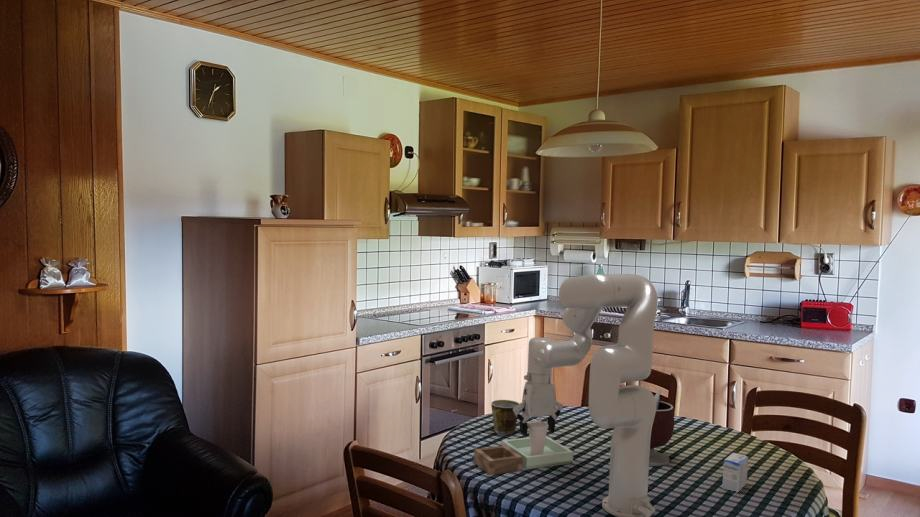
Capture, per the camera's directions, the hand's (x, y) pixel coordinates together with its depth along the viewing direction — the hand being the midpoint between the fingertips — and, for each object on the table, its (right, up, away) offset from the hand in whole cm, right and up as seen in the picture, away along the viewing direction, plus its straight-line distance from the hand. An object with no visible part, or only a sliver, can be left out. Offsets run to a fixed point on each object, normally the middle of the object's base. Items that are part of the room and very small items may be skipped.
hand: (537, 432), depth 199 cm
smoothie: (0, -7, 0) cm, 7 cm away
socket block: (-13, -8, -8) cm, 17 cm away
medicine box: (+53, -11, -18) cm, 57 cm away
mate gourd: (+36, -9, +3) cm, 37 cm away
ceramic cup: (-9, -6, +23) cm, 25 cm away
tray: (0, -8, 0) cm, 8 cm away
